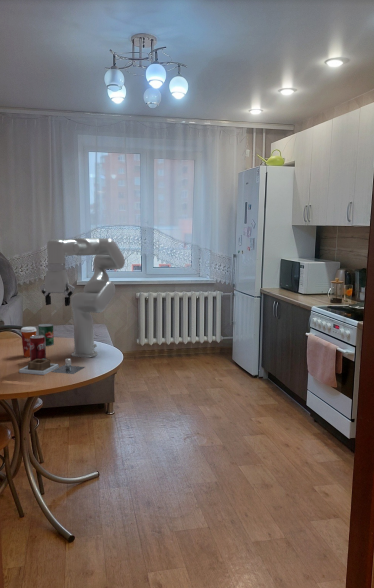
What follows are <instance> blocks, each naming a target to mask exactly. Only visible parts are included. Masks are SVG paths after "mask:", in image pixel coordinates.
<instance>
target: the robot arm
mask: <svg viewBox="0 0 374 588" xmlns="http://www.w3.org/2000/svg"><path fill="white" fill-rule="evenodd" d="M46 249H47V250H46V251H47V264H46V265H45V268H47V270H46V271H45V277H44V283H43V284H42V285H40V286H39V289H40V290H41V293H42V294H43V296H44V299H45V300H44V301H45V305H46V306H49V305H52V297H51V294H63V295H64V296H65V297H64V306H65V307H68V306H70V304H71V309H72V314H73V336H74V338H73V340H74V341H73V342H74V343H73V344H74V346H73V347H74V351H73V352H72V353H71V357H73V358H85V359H89V358H93V357H96V356H97V355H98V352H97V351H96V350H95V349H96V348H97V347H98V345H97V343H95V341H94V340H95V338H94V335H95V333H94V329H95V328H94V318H93V315H92V314H91V313H95V314H97V313H98V314H99V313H103V312H104V311H105V310H106V308H108V306H109V304H110V303H111V302H112V300H113V298H114V297H115V293H116V286H115V284H114V282H113V281H111V280H110V277H109V274H108V272H107V270H121V269H122V268H123V267H124V266H125V262H126V261H125V256H124V254H123V252H122V251H121V249H120V247H119V246H118V245H117V243H116V241H115V240H114V239H113V238H108V237H107V238H106V237H105V238H104V237H103V238H102V237H101V238H100V237H97V238H96V237H94V238H91V237H90V238H89V237H81V238H80V237H79V238H69V239H67V238H66V239H65V238H59V239H58V238H57V239H56V238H54V239H51V240H50V239H49V240H48V241H47V243H46ZM67 256H68V257H69V256H70V257H72V256H78V257H79V256H83V257H84V256H94V259H93V272H94V273H93V275H92V276H91V277H90V279H89V280H88V281H87V282H86V284H85V285H84V287H83V292H77V293H75V294H74V292H75V289H76V287H75V286H73V285H72V284H70V281H69V275H68V272H67V270H66V257H67ZM71 296H72V297H71Z"/></svg>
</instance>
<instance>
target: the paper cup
mask: <svg viewBox="0 0 374 588" xmlns="http://www.w3.org/2000/svg"><path fill="white" fill-rule="evenodd" d="M20 333H21V343H22V352H23V353H22V354H23V357H25V358H30V342H29V338H30V337H31V336H35V335H37V328H36V326H25V327H24V326H23V327H21V329H20Z"/></svg>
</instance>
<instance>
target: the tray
mask: <svg viewBox="0 0 374 588" xmlns="http://www.w3.org/2000/svg"><path fill="white" fill-rule="evenodd" d="M59 367H60V366H59V363H50V368H48V369H46V370H44V371H38V370H28V365H25V366H23V367H22V368H20V369H19V370H18V372H19V374H29V375H30V374H31V375H43V376H45V375H46V374H48V373H51V371H53V370H55V369H57V368H59Z"/></svg>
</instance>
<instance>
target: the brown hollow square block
mask: <svg viewBox="0 0 374 588" xmlns="http://www.w3.org/2000/svg"><path fill="white" fill-rule="evenodd" d="M50 364H51V360H50V359H47V358H46V359H35V360H33V361H29V362H27V366H28V370H38V371H44V370H46V369H48V368H50Z"/></svg>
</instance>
